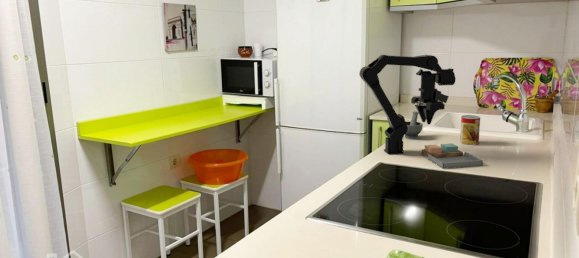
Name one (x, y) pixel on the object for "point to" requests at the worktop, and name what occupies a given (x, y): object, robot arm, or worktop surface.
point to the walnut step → (442, 154)
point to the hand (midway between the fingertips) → (426, 123)
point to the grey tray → (457, 161)
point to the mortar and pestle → (413, 127)
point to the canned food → (470, 129)
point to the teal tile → (449, 147)
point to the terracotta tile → (433, 148)
